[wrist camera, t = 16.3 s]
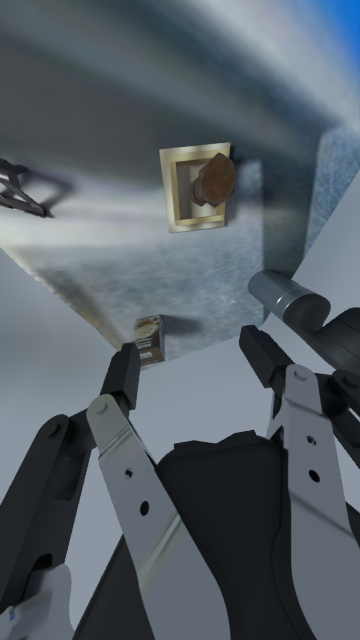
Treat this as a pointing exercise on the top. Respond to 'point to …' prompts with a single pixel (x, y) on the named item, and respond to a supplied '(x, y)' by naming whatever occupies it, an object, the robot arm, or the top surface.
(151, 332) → the coffee box
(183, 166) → the board
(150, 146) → the top surface
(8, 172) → the portable electronic device stand
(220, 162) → the bolt
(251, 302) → the top surface
